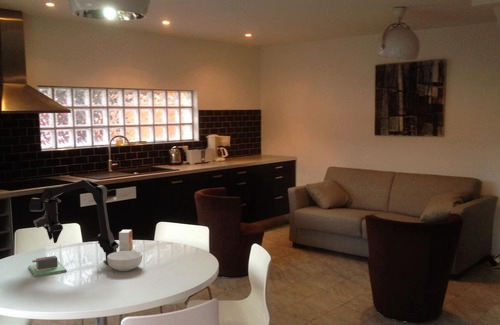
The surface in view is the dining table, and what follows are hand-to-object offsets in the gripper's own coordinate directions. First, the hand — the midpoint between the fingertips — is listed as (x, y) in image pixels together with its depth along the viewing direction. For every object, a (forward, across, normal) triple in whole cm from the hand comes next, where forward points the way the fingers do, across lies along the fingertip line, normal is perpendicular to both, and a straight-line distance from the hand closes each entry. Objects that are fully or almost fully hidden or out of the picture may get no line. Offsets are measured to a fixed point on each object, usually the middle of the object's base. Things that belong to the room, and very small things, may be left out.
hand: (52, 241), depth 254 cm
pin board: (+11, +11, -6) cm, 17 cm away
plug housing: (+10, +11, -6) cm, 16 cm away
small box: (+11, -1, +40) cm, 41 cm away
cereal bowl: (+11, +33, +26) cm, 43 cm away
